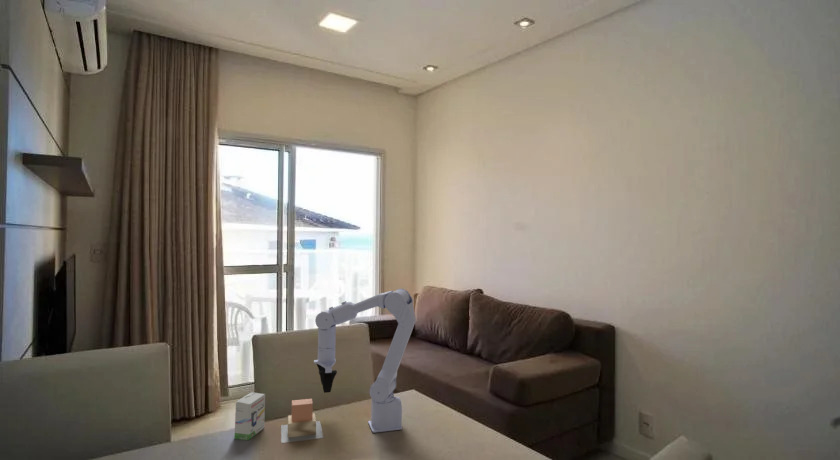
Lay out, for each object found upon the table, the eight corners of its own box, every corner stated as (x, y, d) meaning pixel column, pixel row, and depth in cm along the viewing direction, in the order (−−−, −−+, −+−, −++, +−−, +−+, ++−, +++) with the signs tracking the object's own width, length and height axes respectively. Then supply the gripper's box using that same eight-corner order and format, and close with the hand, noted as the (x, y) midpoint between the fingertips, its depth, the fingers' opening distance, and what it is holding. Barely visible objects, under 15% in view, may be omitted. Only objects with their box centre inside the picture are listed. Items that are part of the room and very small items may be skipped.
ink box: (250, 429, 139) (250, 391, 139) (265, 431, 138) (265, 392, 138) (233, 442, 131) (234, 401, 131) (249, 444, 130) (249, 403, 130)
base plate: (319, 424, 144) (320, 420, 144) (323, 441, 132) (323, 437, 132) (280, 428, 140) (281, 425, 140) (281, 446, 128) (281, 443, 128)
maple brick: (314, 425, 140) (314, 412, 140) (315, 434, 134) (316, 420, 134) (287, 428, 138) (288, 415, 138) (288, 437, 132) (288, 423, 132)
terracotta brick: (311, 414, 139) (311, 398, 139) (312, 419, 135) (312, 403, 135) (291, 416, 137) (291, 400, 137) (291, 422, 133) (292, 405, 133)
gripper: (312, 342, 153) (311, 381, 153) (316, 353, 139) (315, 397, 139) (333, 340, 155) (332, 379, 155) (338, 352, 141) (338, 395, 141)
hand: (325, 387), depth 147 cm, fingers open, 7 cm apart
